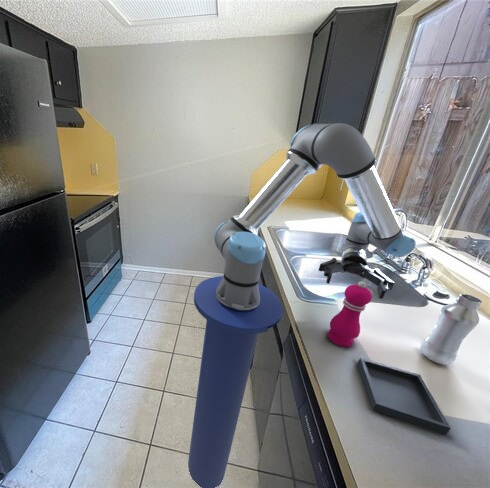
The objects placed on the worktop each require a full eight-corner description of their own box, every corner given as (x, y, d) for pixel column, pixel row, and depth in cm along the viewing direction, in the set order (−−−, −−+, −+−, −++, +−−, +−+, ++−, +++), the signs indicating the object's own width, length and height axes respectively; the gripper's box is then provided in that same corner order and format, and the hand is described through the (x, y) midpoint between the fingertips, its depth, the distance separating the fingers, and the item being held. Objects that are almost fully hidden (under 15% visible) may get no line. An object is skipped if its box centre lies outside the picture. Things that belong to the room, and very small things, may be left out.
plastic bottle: (438, 370, 67) (479, 308, 59) (411, 350, 73) (444, 291, 65) (457, 366, 69) (499, 305, 60) (428, 347, 75) (463, 289, 66)
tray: (357, 363, 68) (359, 357, 67) (416, 380, 64) (420, 374, 63) (372, 409, 57) (376, 403, 56) (446, 434, 52) (451, 428, 52)
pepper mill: (340, 329, 80) (363, 274, 72) (360, 347, 74) (387, 288, 65) (320, 331, 79) (340, 275, 71) (338, 349, 72) (363, 290, 64)
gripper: (392, 280, 90) (402, 312, 74) (313, 260, 102) (306, 284, 86) (401, 261, 87) (413, 290, 70) (318, 243, 99) (312, 264, 83)
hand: (354, 287), depth 78 cm, fingers open, 13 cm apart
